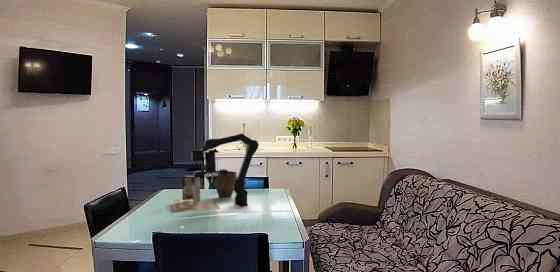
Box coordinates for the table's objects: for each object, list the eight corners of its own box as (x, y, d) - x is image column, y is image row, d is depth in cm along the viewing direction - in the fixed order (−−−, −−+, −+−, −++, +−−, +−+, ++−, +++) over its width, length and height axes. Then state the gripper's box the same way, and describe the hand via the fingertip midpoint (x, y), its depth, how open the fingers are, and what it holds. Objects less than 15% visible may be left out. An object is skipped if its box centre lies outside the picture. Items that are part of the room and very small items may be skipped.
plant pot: (241, 196, 253) (241, 172, 252) (226, 200, 241) (226, 175, 240) (224, 194, 261) (223, 170, 260) (208, 198, 249) (208, 173, 248)
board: (214, 203, 234) (214, 201, 234) (220, 210, 215) (220, 208, 215) (169, 206, 226) (169, 205, 226) (171, 214, 207) (171, 212, 207)
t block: (192, 205, 225) (192, 198, 224) (194, 208, 215) (193, 201, 215) (174, 206, 222) (174, 199, 221) (175, 210, 212) (175, 203, 212)
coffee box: (182, 202, 236) (181, 176, 235) (188, 200, 242) (187, 174, 241) (194, 203, 233) (194, 177, 232) (200, 201, 239) (200, 175, 238)
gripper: (224, 158, 232) (225, 184, 233) (192, 160, 227) (193, 187, 227) (227, 160, 222) (228, 187, 223) (194, 162, 216) (195, 190, 217)
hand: (211, 187), depth 223 cm, fingers closed
